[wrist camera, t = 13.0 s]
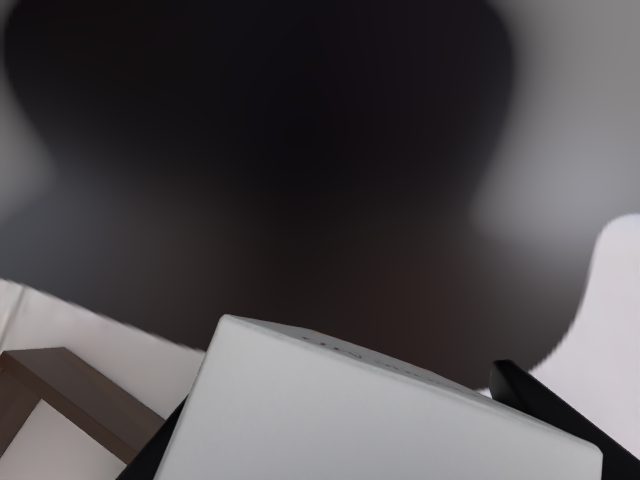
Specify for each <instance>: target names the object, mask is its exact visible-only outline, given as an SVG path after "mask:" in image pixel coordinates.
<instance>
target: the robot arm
mask: <svg viewBox="0 0 640 480" xmlns="http://www.w3.org/2000/svg"><path fill="white" fill-rule="evenodd" d="M489 389H490V393H491V396H492V399H493V400H496V401H498V402H500V403H502V404H505V405H507V406H509V407H511V408H514V409H516V410H518V411H521V412H523V413H525V414H527V415H530V416H532V417H534V418H537V419H539V420H541V421H543V422H545V423H548V424H550V425H552V426H554V427H556V428H558V429H561V430H563V431H565V432H567V433H569V434H571V435H574V436H576V437H578V438H581V439H583V440H585V441H588V442H590V443H593V444H594V445H595V446H597V447H598V448H599V450H600V451H601V453H602V454H603V458H602V473H601V480H640V460H639V459H637V458H636V457H635V456H634V455H632V454H631V453H630V452H629V451H627V450H626V449H625V448H623V447H622V446H621V445H620V444H618V443H617V442H616V441H615V440H613V439H612V438H611V437H609V436H608V435H607V434H606V433H604V432H603V431H602V430H601V429H599V428H598V427H597V426H595V425H594V424H593V423H592V422H590V421H589V420H588V419H587V418H585V417H584V416H583V415H581V414H580V413H579V412H578V411H576V410H575V409H574V408H573V407H571V406H570V405H569V404H567V403H566V402H565V401H564V400H562V399H561V398H560V397H559V396H557V395H556V394H555V393H553V392H552V391H551V390H550V389H548V388H547V387H546V386H545V385H543V384H542V383H541V382H539V381H538V380H537V379H536V378H534V377H533V376H532V375H531V374H529V373H528V372H527V371H525V370H524V369H523V368H522V367H520V366H519V365H518V364H517V363H515V362H514V361H512V360H496V361H494V362H493V363H492V367H491V373H490V379H489ZM188 395H189V394H188ZM188 395H187V397H186V398H185V399H184V400H183V401H182V402H181V404H180V405H179V406H178V407H177V408H176V409H175V411H174V412H173V413H172V414H171V415H170V416H169V418H168V419H167V420H166V421H165V422H164V423H163V425H162V426H161V427H160V428H159V429H158V430H157V432H156V433H155V434H154V435H153V436H152V437H151V439H150V440H149V441H148V442H147V443H146V444H145V446H144V447H143V448H142V449H141V450H140V451H139V453H138V454H137V455H136V456H135V457H134V458H133V460H132V461H131V462H130V463H129V464H128V465H127V467H126V468H125V469H124V470H123V471H122V472H121V474H120V475H119V476H118V477H117V478H116V479H115V480H153V479H154V477H155V474H156V472H157V470H158V467H159V465H160V462H161V460H162V458H163V455H164V453H165V451H166V448H167V446H168V443H169V441H170V439H171V436H172V434H173V431H174V429H175V426H176V424H177V422H178V419H179V417H180V414H181V412H182V409H183V407H184V405H185V402H186V400H187V398H188Z"/></svg>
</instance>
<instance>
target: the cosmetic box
mask: <svg viewBox="0 0 640 480" xmlns="http://www.w3.org/2000/svg"><path fill="white" fill-rule="evenodd" d="M602 458H603V454H602V453H601V451H600V450H599V448H598V447H597V446H595V445H594V444H593V443H590V442H588V441H585V440H583V439H581V438H578V437H576V436H574V435H571V434H569V433H567V432H565V431H563V430H561V429H558V428H556V427H554V426H552V425H550V424H548V423H545V422H543V421H541V420H539V419H537V418H534V417H532V416H530V415H527V414H525V413H523V412H521V411H518V410H516V409H514V408H511V407H509V406H507V405H505V404H502V403H500V402H498V401H496V400H493V399H491V398H489V397H486V396H484V395H482V394H480V393H478V392H475V391H473V390H471V389H469V388H467V387H464V386H462V385H460V384H457V383H455V382H453V381H450V380H448V379H445V378H443V377H441V376H439V375H437V374H435V373H433V372H430V371H428V370H425V369H422V368H420V367H417V366H414V365H411V364H409V363H406V362H403V361H401V360H398V359H395V358H392V357H390V356H387V355H384V354H381V353H378V352H376V351H373V350H370V349H367V348H364V347H361V346H358V345H355V344H352V343H349V342H346V341H343V340H340V339H337V338H334V337H331V336H328V335H325V334H322V333H319V332H317V331H314V330H310V329H305V328H299V327H294V326H289V325H283V324H278V323H273V322H266V321H260V320H256V319H250V318H245V317H238V316H233V315H229V314H225V315H223V316H222V317H221V318H220V320H219V323H218V325H217V328H216V331H215V333H214V336H213V338H212V340H211V343H210V345H209V347H208V350H207V352H206V355H205V357H204V359H203V362H202V364H201V366H200V369H199V371H198V374H197V376H196V378H195V381H194V383H193V386H192V388H191V390H190V393H189V395H188V398H187V400H186V402H185V405H184V407H183V409H182V412H181V414H180V417H179V419H178V422H177V424H176V426H175V429H174V431H173V434H172V436H171V439H170V441H169V443H168V446H167V448H166V451H165V453H164V455H163V458H162V460H161V462H160V465H159V467H158V470H157V472H156V474H155V477H154V479H153V480H601V473H602Z"/></svg>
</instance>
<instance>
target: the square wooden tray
mask: <svg viewBox="0 0 640 480" xmlns="http://www.w3.org/2000/svg"><path fill="white" fill-rule="evenodd" d="M40 398H42V399H43V400H44V401H46V402H47V403H48V404H50V405H51V406H52V407H53V408H55V409H56V410H57V411H59V412H60V413H61V414H62V415H64V416H65V417H66V418H68V419H69V420H70V421H71V422H73V423H74V424H75V425H77V426H78V427H79V428H80V429H82V430H83V431H84V432H86V433H87V434H88V435H89V436H91V437H92V438H93V439H95V440H96V441H97V442H98V443H100V444H101V445H102V446H104V447H105V448H106V449H107V450H109V451H110V452H111V453H113V454H114V455H115V456H116V457H118V458H119V459H120V460H122V461H123V462H124V463H125V464H127V465H128V464H129V463H130V462H131V461H132V460H133V458H134V457H135V456H136V455H137V454H138V453H139V451H140V450H141V449H142V448H143V447H144V446H145V444H146V443H147V442H148V441H149V440H150V439H151V437H152V436H153V435H154V434H155V433H156V432H157V430H158V429H159V428H160V427H161V426H162V425H163V423H164V422H165V420H164V419H163V418H161V417H160V416H159V415H157V414H156V413H154V412H153V411H152V410H150V409H149V408H148V407H146V406H145V405H143V404H142V403H141V402H139V401H138V400H136V399H135V398H134V397H132V396H131V395H130V394H128V393H127V392H125V391H124V390H123V389H121V388H120V387H119V386H117V385H116V384H114V383H113V382H112V381H110V380H109V379H107V378H106V377H105V376H103V375H102V374H101V373H99V372H98V371H96V370H95V369H94V368H92V367H91V366H90V365H88V364H87V363H85V362H84V361H83V360H81V359H80V358H78V357H77V356H76V355H74V354H73V353H72V352H70V351H69V350H67V349H66V348H65V347H59V348H43V349H26V350H9V351H3V352H2V354H1V355H0V457H1V456H2V454H3V453H4V451H5V450H6V448H7V447H8V445H9V444H10V442H11V441H12V439H13V438H14V437H15V435H16V434H17V432H18V431H19V429H20V428H21V426H22V425H23V423H24V422H25V420H26V419H27V417H28V416H29V414H30V413H31V411H32V410H33V409H34V407H35V406H36V404H37V403H38V401H39V400H40Z"/></svg>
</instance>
